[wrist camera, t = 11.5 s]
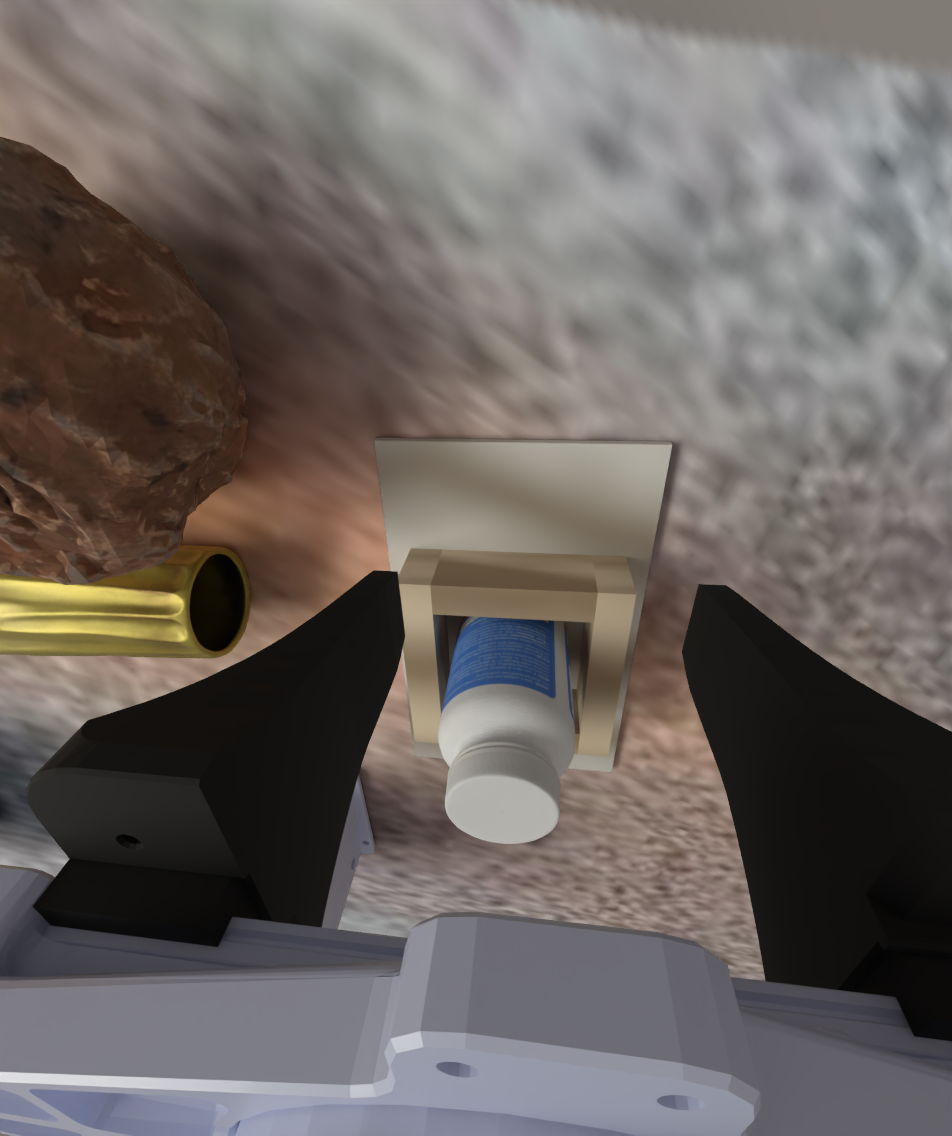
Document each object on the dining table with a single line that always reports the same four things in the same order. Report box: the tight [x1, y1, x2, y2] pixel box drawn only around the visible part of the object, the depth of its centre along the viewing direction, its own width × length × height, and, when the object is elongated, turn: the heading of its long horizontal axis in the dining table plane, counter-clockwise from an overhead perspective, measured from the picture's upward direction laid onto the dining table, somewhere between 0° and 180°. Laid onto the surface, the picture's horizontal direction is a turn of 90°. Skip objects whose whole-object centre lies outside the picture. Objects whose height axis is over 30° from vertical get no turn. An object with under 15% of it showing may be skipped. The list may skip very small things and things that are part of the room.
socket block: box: [374, 438, 672, 772], centre depth 25 cm, size 20×12×3 cm, turn 1°
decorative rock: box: [0, 137, 248, 585], centre depth 17 cm, size 13×11×10 cm
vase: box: [0, 545, 251, 658], centre depth 24 cm, size 6×6×14 cm
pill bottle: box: [438, 616, 575, 844], centre depth 21 cm, size 6×5×10 cm
